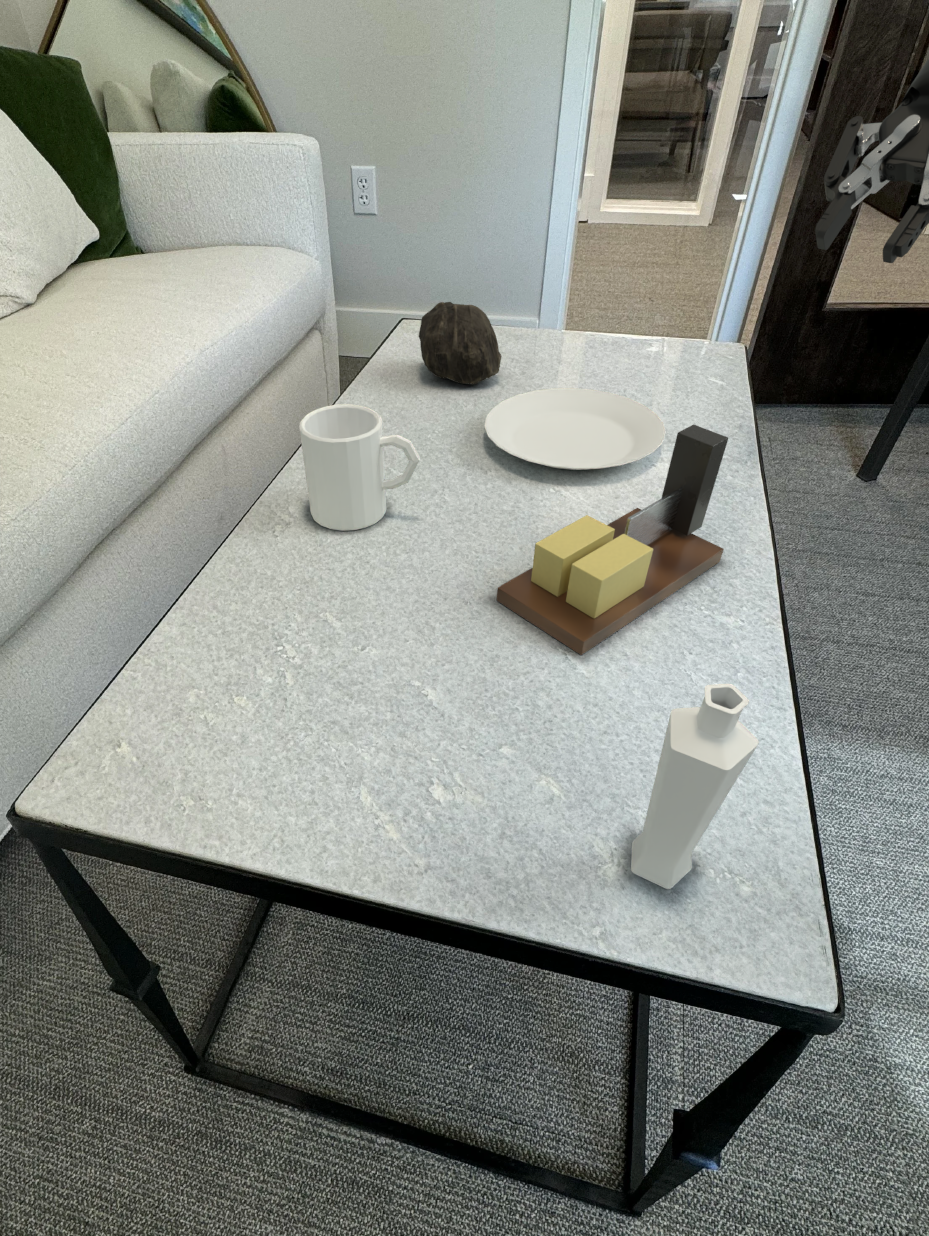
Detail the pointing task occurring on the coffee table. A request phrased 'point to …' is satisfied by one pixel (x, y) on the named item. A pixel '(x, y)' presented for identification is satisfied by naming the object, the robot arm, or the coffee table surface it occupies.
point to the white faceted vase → (692, 782)
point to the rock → (459, 343)
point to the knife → (682, 487)
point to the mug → (349, 465)
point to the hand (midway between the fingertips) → (853, 249)
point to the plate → (574, 428)
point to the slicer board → (666, 574)
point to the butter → (590, 565)
